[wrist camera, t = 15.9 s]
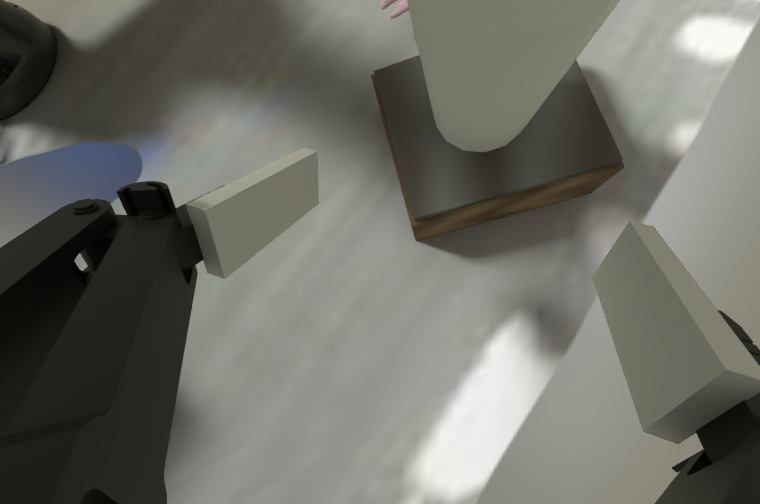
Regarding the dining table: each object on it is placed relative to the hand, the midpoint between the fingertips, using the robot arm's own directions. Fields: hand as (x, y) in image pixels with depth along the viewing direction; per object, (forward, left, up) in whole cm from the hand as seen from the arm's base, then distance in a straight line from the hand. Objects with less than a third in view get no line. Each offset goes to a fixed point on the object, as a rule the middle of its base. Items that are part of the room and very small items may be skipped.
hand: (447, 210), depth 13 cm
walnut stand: (+5, +8, -12) cm, 15 cm away
